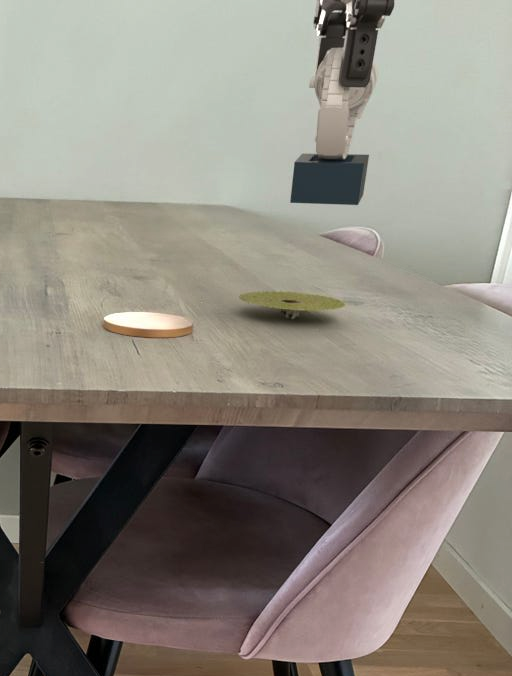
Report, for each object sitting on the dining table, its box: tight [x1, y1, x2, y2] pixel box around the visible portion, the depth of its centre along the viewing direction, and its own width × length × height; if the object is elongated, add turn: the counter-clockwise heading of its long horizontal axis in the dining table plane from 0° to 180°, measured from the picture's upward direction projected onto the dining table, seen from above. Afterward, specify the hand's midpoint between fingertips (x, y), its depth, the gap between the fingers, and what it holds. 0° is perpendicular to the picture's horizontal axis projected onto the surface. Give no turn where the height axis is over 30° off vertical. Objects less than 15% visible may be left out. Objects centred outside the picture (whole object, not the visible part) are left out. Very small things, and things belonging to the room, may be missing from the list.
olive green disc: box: [238, 290, 346, 320], centre depth 103 cm, size 11×11×2 cm
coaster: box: [102, 311, 194, 339], centre depth 96 cm, size 9×9×1 cm
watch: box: [289, 48, 379, 206], centre depth 78 cm, size 6×8×11 cm
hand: (338, 88), depth 77 cm, fingers closed on watch, 8 cm apart
